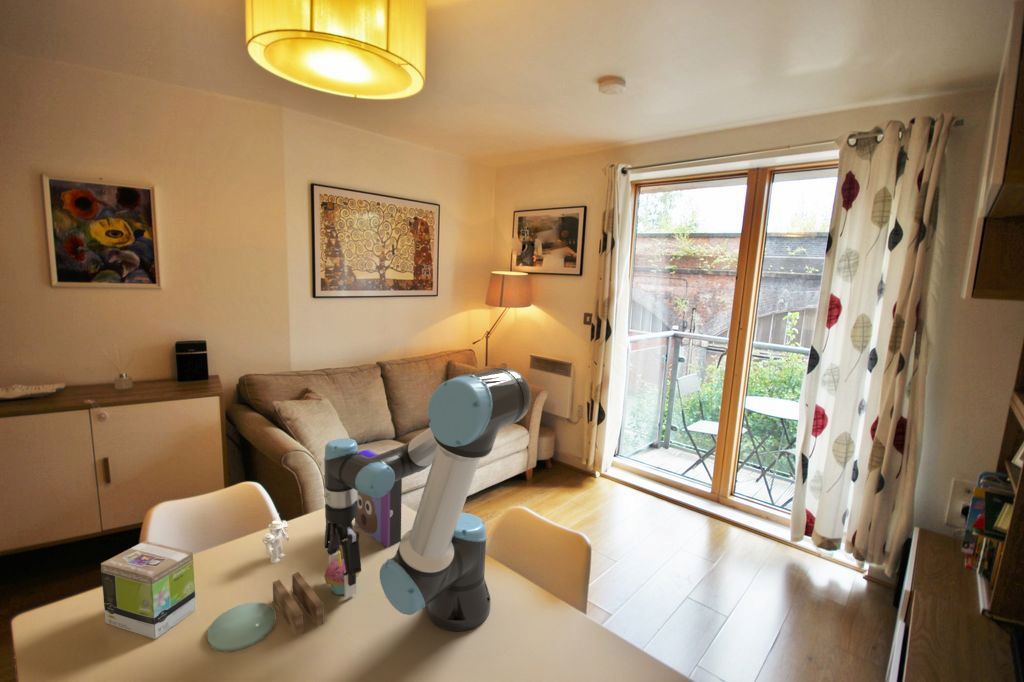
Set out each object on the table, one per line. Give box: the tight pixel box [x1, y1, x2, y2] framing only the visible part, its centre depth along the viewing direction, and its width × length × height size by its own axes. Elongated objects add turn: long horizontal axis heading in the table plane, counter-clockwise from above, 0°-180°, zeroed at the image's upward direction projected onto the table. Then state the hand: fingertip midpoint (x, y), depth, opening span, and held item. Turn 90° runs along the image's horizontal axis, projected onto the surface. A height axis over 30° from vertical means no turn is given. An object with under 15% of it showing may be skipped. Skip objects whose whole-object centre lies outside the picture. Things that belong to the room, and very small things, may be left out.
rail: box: [272, 579, 304, 638], centre depth 106 cm, size 15×2×5 cm, turn 45°
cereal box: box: [354, 449, 403, 549], centre depth 140 cm, size 17×5×24 cm, turn 50°
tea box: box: [100, 540, 197, 640], centre depth 103 cm, size 15×10×15 cm, turn 74°
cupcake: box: [323, 549, 361, 596], centre depth 116 cm, size 9×8×12 cm
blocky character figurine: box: [262, 512, 290, 564], centre depth 126 cm, size 9×4×12 cm, turn 173°
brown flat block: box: [291, 571, 324, 628], centre depth 109 cm, size 15×2×5 cm, turn 45°
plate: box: [207, 601, 276, 652], centre depth 102 cm, size 13×13×1 cm
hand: (342, 585), depth 116 cm, fingers closed on cupcake, 8 cm apart
